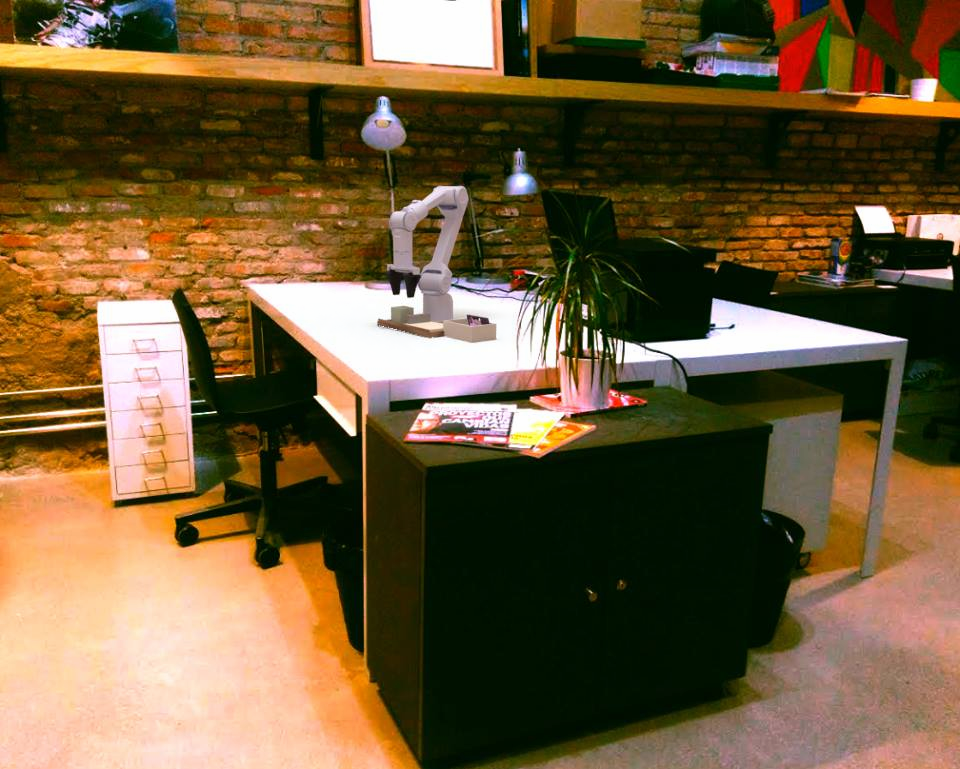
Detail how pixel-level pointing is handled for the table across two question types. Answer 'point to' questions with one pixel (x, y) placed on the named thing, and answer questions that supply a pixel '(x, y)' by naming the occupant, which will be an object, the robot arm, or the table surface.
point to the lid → (423, 322)
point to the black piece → (482, 319)
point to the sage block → (401, 313)
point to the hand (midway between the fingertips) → (403, 296)
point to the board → (410, 328)
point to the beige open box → (469, 330)
